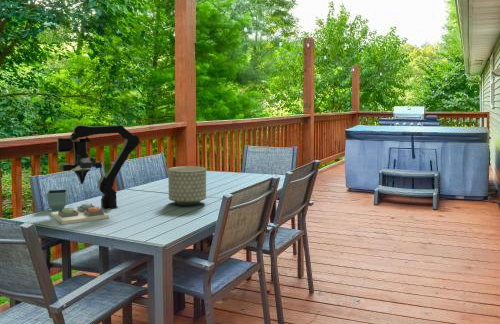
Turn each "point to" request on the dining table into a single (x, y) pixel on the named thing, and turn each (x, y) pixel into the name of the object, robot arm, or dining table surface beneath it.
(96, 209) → the brick button
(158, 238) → the dining table surface
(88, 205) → the slate button
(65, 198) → the flower pot
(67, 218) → the button panel
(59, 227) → the dining table surface
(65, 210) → the sage button
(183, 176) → the planter
